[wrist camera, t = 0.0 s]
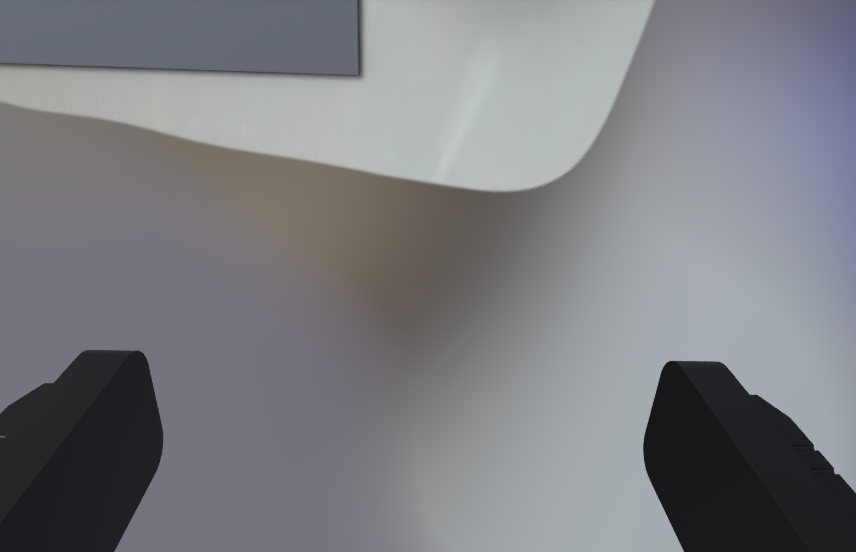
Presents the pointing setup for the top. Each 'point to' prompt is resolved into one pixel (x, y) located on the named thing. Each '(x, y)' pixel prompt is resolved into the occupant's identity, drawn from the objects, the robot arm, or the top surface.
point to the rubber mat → (184, 34)
